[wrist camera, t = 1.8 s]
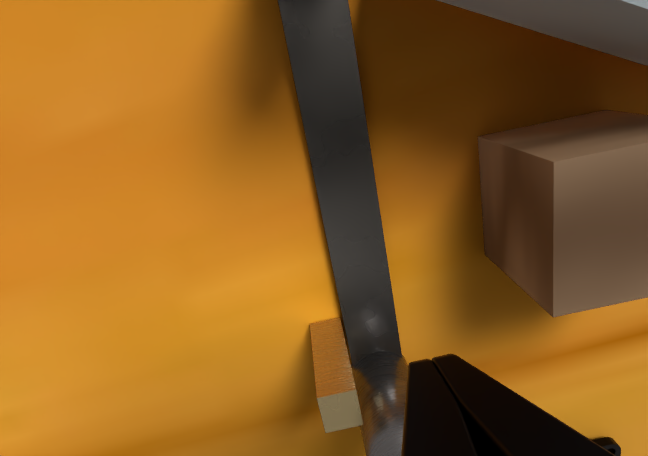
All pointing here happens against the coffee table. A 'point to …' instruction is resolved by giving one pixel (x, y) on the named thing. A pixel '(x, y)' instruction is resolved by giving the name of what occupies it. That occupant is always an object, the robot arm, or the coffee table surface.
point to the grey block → (577, 22)
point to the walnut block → (569, 209)
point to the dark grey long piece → (347, 232)
